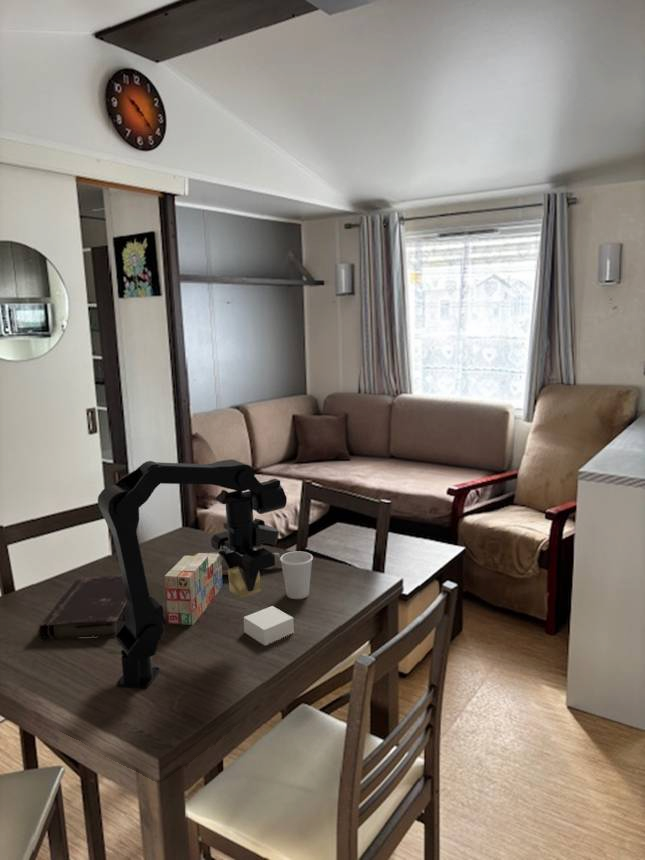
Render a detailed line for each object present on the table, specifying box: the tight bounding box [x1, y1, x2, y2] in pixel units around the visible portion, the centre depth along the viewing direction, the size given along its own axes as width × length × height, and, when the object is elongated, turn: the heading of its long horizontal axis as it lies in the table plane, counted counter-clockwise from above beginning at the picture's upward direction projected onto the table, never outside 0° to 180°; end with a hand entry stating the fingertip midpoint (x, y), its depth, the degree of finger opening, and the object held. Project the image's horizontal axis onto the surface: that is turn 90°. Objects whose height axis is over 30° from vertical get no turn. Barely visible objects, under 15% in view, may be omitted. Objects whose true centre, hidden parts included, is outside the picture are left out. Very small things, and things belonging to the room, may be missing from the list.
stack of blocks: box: [164, 552, 224, 626], centre depth 158 cm, size 21×6×12 cm, turn 169°
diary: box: [37, 574, 127, 641], centre depth 155 cm, size 19×25×5 cm
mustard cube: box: [228, 566, 262, 599], centre depth 139 cm, size 5×5×5 cm
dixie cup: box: [280, 550, 314, 600], centre depth 162 cm, size 8×8×10 cm
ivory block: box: [243, 605, 295, 646], centre depth 144 cm, size 8×8×4 cm
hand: (244, 586), depth 139 cm, fingers closed on mustard cube, 5 cm apart
